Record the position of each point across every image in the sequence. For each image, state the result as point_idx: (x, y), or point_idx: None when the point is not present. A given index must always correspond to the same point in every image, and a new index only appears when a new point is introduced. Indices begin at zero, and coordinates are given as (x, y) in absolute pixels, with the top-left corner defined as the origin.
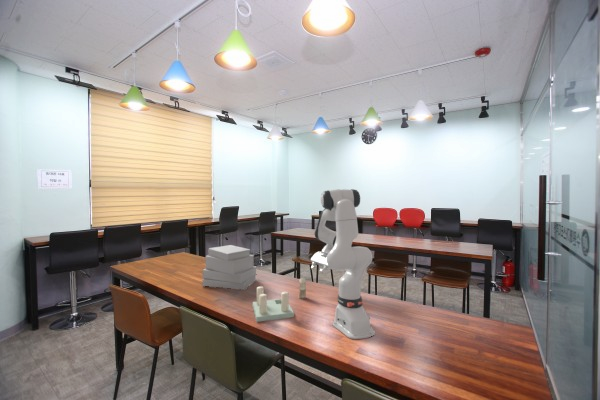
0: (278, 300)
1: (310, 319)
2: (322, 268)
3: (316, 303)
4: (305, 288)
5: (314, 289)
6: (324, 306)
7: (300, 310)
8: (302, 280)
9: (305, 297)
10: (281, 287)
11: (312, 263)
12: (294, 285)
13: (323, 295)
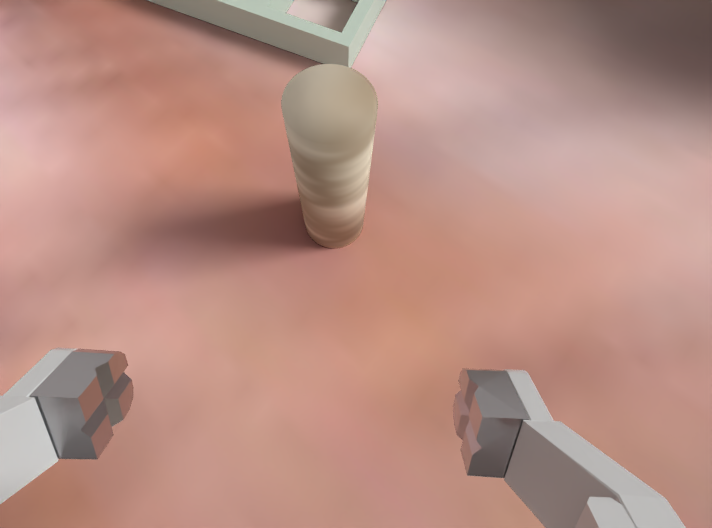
0: (359, 3)
1: (13, 40)
2: (1, 410)
3: (155, 235)
4: (298, 188)
5: (441, 476)
6: (59, 246)
7: (161, 70)
8: (295, 79)
9: (307, 231)
10: (672, 225)
11: (633, 484)
12: (671, 367)
13: (238, 428)
